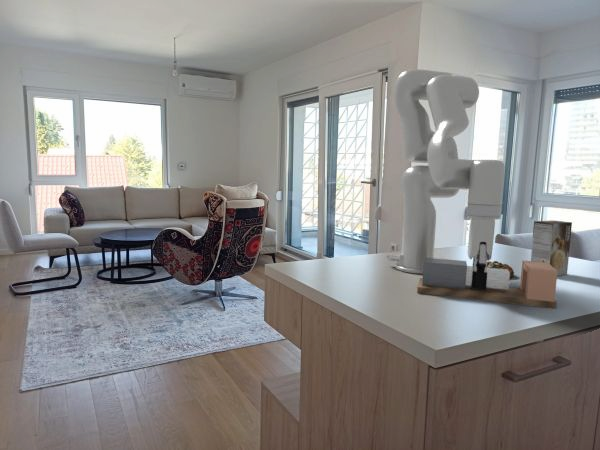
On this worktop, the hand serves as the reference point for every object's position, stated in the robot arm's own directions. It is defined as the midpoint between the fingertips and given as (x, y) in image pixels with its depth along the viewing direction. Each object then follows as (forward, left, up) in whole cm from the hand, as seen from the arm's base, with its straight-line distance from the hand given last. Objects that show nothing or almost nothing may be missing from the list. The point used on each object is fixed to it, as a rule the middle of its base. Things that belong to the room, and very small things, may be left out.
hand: (478, 285), depth 104 cm
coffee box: (+22, +34, -2) cm, 41 cm away
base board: (+1, 0, -2) cm, 3 cm away
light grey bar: (-3, 0, 0) cm, 3 cm away
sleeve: (-8, 0, -1) cm, 8 cm away
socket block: (+13, 0, -1) cm, 13 cm away
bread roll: (+6, +26, -3) cm, 27 cm away
